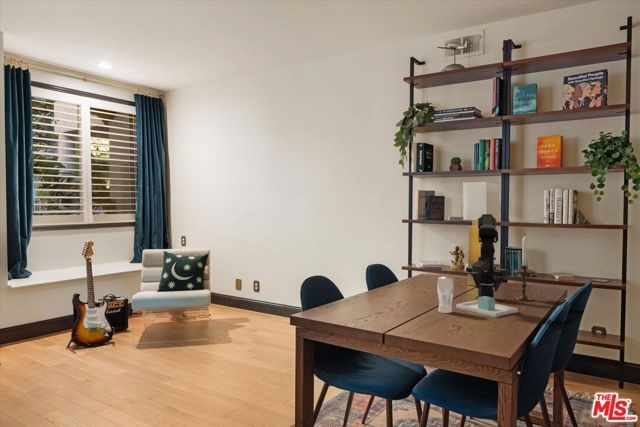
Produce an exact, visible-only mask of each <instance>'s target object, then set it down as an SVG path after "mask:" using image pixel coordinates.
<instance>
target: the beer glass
mask: <svg viewBox="0 0 640 427" xmlns="http://www.w3.org/2000/svg"><path fill="white" fill-rule="evenodd" d="M436 283H437V285H436V287H437V289H436V290H437V296H438V308H437V312H438V313H441V314H452V313H453V308H452V307H453V306H452V302H453V296H454V290H455V285H454V284H455V282H454V277H451V276H438V277H437V282H436Z"/></svg>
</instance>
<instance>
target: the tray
mask: <svg viewBox="0 0 640 427" xmlns="http://www.w3.org/2000/svg"><path fill="white" fill-rule="evenodd" d="M456 309H459V310H463V311H467V312H471V313H476V314H480V315H484V316H487V317H493V318H499V317H503V316H508V315H512V314H517V313H518V307H512V306H508V305H504V304H498V303H495V309H494V310H489V311H487V310H483V309H478V299H477V300H472V301H466V302H460V303H456Z"/></svg>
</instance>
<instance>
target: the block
mask: <svg viewBox="0 0 640 427" xmlns="http://www.w3.org/2000/svg"><path fill="white" fill-rule="evenodd" d="M477 297H478V296H477ZM477 300H478V309H483V310H487V311H489V310H494V309H495V304H496V298H495V297H494V298H492V297H487V296H483V297H478V298H477Z"/></svg>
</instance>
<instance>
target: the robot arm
mask: <svg viewBox="0 0 640 427" xmlns="http://www.w3.org/2000/svg"><path fill="white" fill-rule="evenodd" d="M496 228H497V219H496V218H495V217H494V216H493V214H490V213H482V214H481V216H480V217H479V218H477V229H478V236H477V238H478V240H477V241H478V243H480V253H479V254H480V255H479V257H478V258H477V261H476V262H474V263H472V264H470V265H467V266H466V267H465V272H467V274H468V275H470V276H471V277H472V279H473V282H474V284H475V288H476V289H477V291H478V293H477V294H478V296H476V298H477V299H478V297H483V296H487V297H492V298H495V297H494V295H495V294H494V292H495V293H497V292H498V291H499V288H500V286H501V284H502V283H503V282H504V280H505V278H506V279H507V277H510V271H509V269H506V268H496V266H495V261H496V258H497V257H495V253H496V250H495V245H494V244H497V243H498V241H499V232H498V229H496Z"/></svg>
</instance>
